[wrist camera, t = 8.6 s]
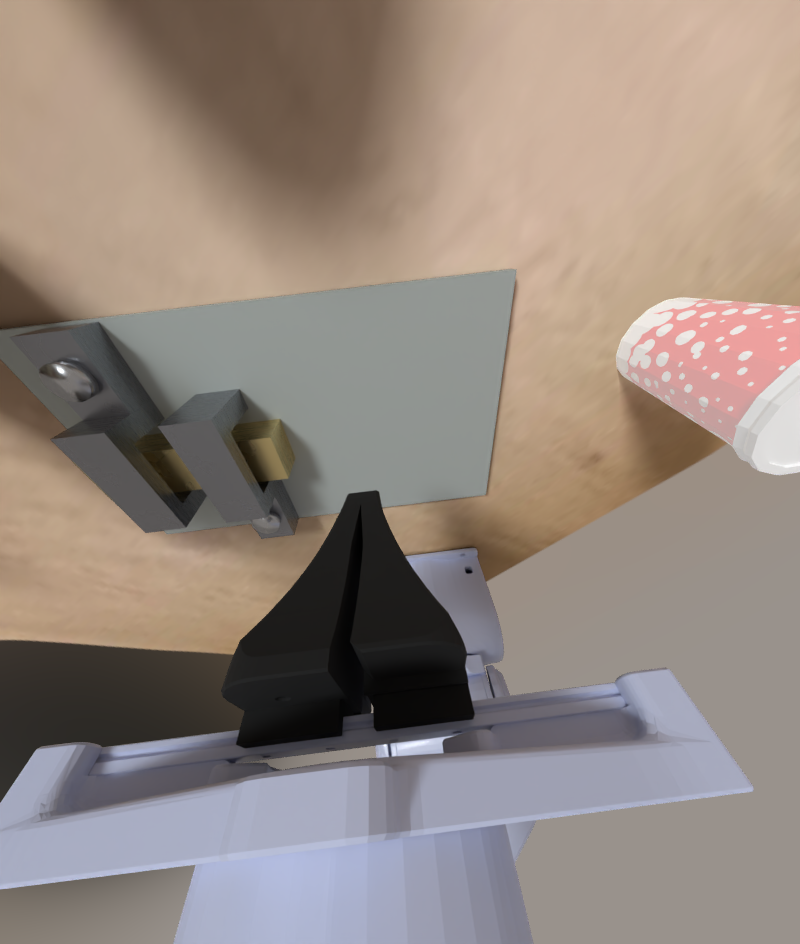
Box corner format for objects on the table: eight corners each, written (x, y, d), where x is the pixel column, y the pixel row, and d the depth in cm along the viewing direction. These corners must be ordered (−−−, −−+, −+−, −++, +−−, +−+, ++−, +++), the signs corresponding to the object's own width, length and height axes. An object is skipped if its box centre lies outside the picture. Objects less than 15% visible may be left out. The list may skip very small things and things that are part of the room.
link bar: (280, 418, 17) (270, 437, 16) (295, 458, 19) (288, 478, 18) (101, 440, 17) (71, 461, 16) (134, 477, 19) (111, 500, 18)
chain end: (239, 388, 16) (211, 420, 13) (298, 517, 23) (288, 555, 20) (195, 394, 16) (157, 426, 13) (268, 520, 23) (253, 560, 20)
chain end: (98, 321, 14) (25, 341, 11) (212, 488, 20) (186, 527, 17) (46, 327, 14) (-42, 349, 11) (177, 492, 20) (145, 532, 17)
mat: (511, 268, 14) (516, 269, 14) (483, 489, 24) (485, 494, 23) (-11, 330, 14) (-25, 333, 13) (171, 528, 23) (166, 534, 23)
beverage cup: (581, 367, 18) (924, 562, 7) (675, 256, 14) (1635, 286, 3) (641, 404, 20) (979, 601, 9) (735, 314, 16) (1459, 449, 6)
